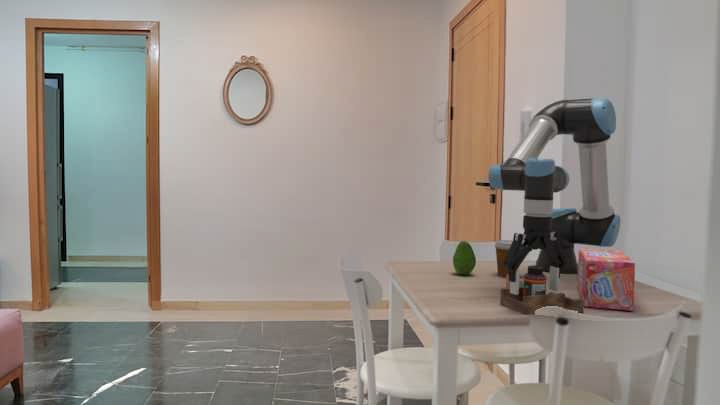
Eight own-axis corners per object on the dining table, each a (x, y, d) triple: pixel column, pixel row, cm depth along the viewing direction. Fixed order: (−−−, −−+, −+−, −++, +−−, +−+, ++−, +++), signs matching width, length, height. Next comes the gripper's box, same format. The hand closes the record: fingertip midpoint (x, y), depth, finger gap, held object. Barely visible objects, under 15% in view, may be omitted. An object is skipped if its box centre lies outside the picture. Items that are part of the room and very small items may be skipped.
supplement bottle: (519, 304, 154) (520, 264, 153) (539, 304, 154) (541, 264, 153) (527, 310, 148) (529, 268, 147) (548, 310, 148) (550, 268, 147)
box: (576, 287, 177) (578, 245, 176) (619, 291, 173) (621, 248, 172) (583, 308, 151) (586, 259, 150) (634, 313, 148) (637, 262, 147)
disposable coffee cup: (522, 279, 187) (523, 244, 186) (493, 277, 189) (495, 243, 188) (519, 274, 196) (521, 240, 195) (492, 272, 198) (494, 239, 197)
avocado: (450, 275, 190) (451, 241, 190) (455, 271, 198) (456, 238, 197) (473, 278, 187) (474, 243, 187) (477, 273, 195) (478, 240, 194)
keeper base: (548, 299, 159) (549, 284, 159) (586, 312, 146) (586, 295, 146) (500, 304, 153) (500, 288, 152) (534, 318, 140) (535, 300, 139)
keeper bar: (512, 287, 173) (513, 273, 172) (543, 298, 160) (544, 283, 159) (505, 288, 172) (506, 274, 171) (536, 299, 159) (537, 284, 158)
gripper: (563, 213, 157) (559, 285, 159) (491, 214, 147) (488, 291, 149) (583, 215, 150) (579, 291, 152) (509, 217, 141) (505, 298, 142)
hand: (534, 292), depth 151 cm, fingers open, 13 cm apart
